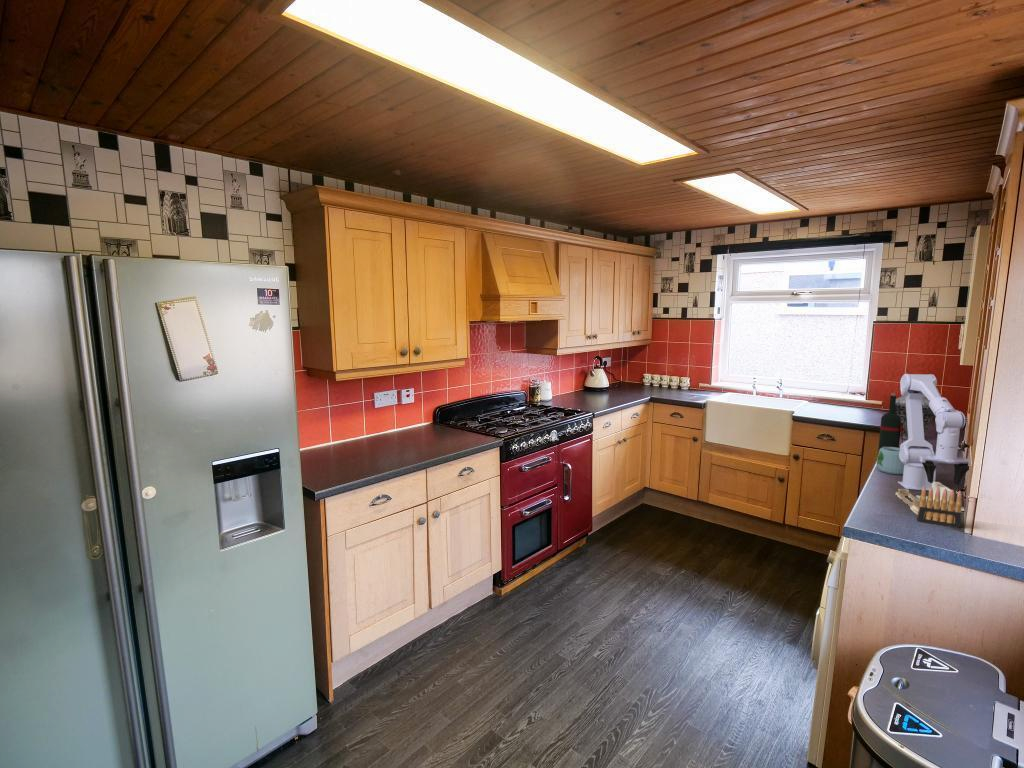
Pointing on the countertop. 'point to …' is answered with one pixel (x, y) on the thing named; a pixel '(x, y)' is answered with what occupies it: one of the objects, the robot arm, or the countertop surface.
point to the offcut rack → (913, 505)
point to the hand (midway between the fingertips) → (943, 483)
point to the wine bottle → (890, 427)
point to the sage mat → (933, 502)
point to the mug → (890, 460)
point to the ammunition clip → (940, 508)
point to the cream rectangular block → (938, 485)
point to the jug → (901, 411)
